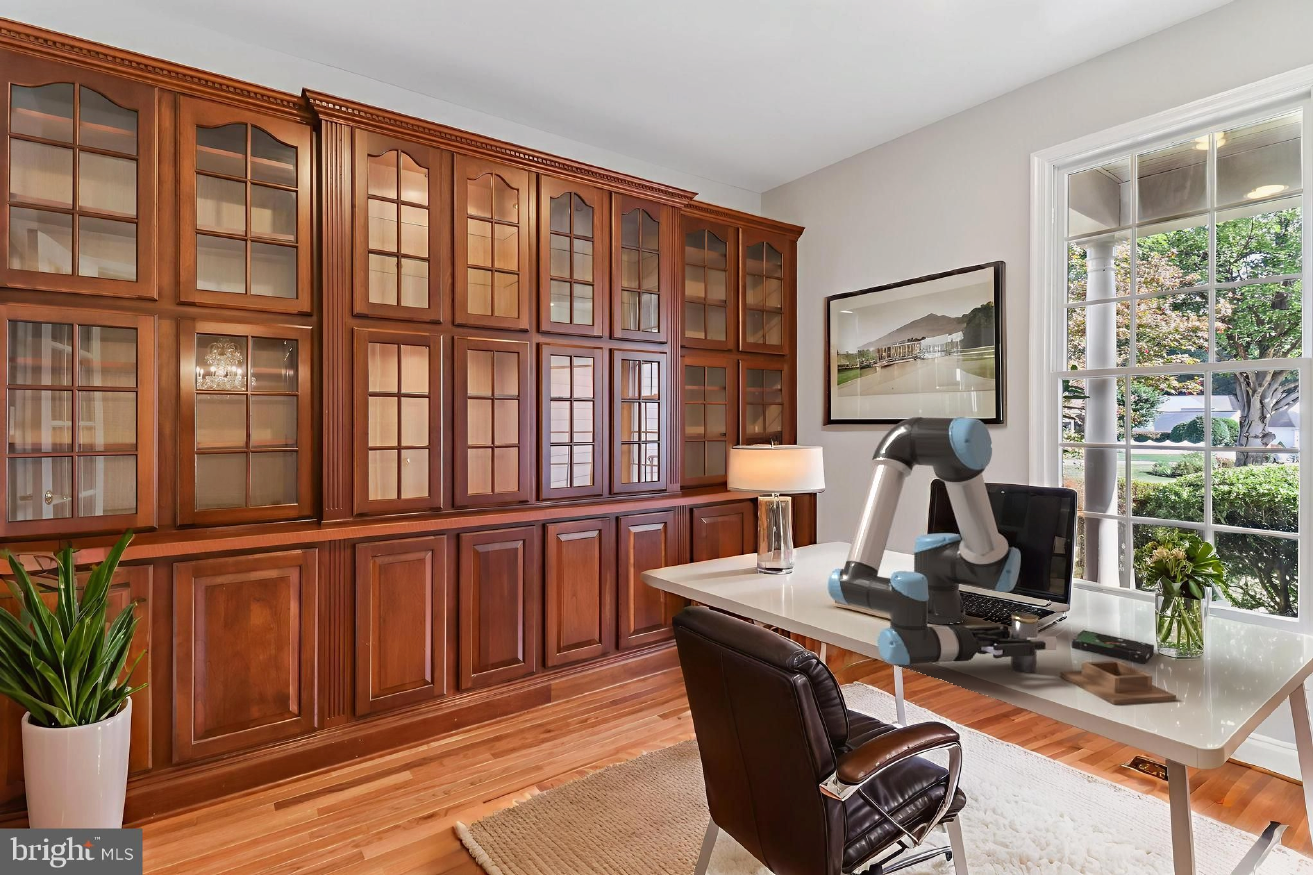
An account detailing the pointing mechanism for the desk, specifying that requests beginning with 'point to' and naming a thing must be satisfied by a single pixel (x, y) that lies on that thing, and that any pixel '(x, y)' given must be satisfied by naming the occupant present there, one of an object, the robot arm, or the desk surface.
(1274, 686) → the desk surface
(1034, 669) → the grey post
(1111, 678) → the socket base
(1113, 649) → the disk drive
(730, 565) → the desk surface
